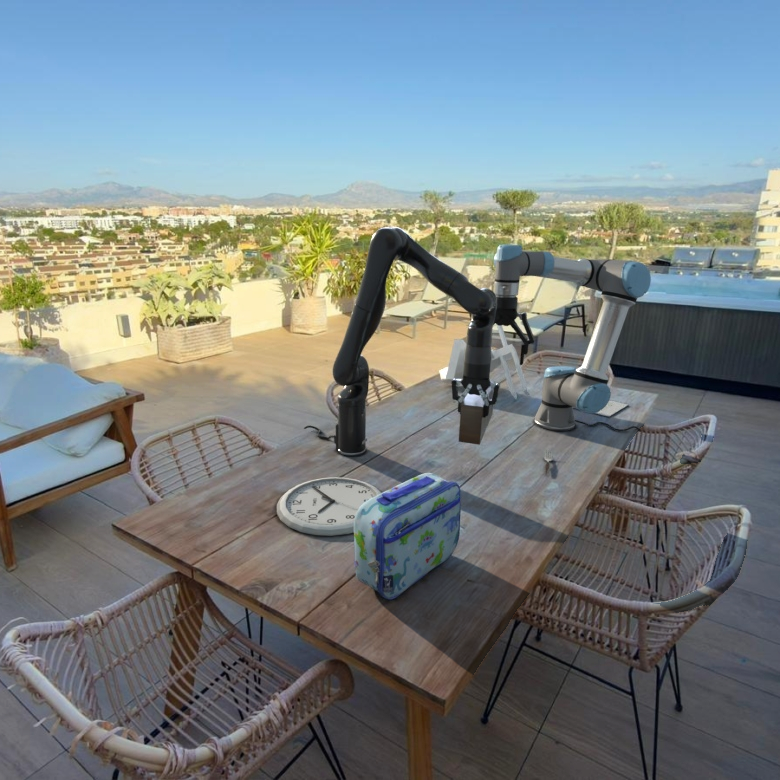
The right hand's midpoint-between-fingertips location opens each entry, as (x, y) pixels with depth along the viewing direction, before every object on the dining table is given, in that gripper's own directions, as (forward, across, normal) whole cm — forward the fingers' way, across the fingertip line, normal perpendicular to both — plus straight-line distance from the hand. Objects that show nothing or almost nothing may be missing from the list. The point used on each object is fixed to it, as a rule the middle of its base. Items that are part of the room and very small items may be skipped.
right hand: (500, 361), depth 170 cm
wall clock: (+32, -33, -54) cm, 71 cm away
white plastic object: (+32, -19, +65) cm, 75 cm away
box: (+19, -4, -13) cm, 23 cm away
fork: (+32, +18, -4) cm, 37 cm away
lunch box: (+32, -4, -73) cm, 80 cm away
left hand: (+11, -3, -23) cm, 26 cm away
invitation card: (+32, +34, +66) cm, 81 cm away
